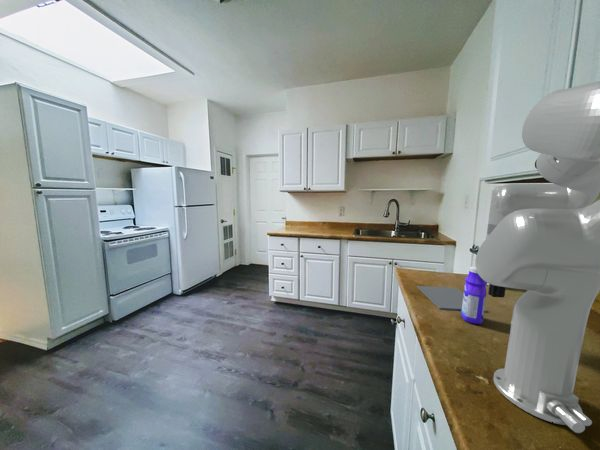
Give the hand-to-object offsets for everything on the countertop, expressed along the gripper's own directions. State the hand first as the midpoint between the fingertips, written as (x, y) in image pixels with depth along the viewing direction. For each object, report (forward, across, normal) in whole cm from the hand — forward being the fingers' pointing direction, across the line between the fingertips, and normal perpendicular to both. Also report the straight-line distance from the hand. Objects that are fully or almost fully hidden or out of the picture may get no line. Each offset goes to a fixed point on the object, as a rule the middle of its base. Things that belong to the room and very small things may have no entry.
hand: (496, 295), depth 66 cm
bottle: (+12, +9, 0) cm, 15 cm away
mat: (+12, +25, -1) cm, 28 cm away
